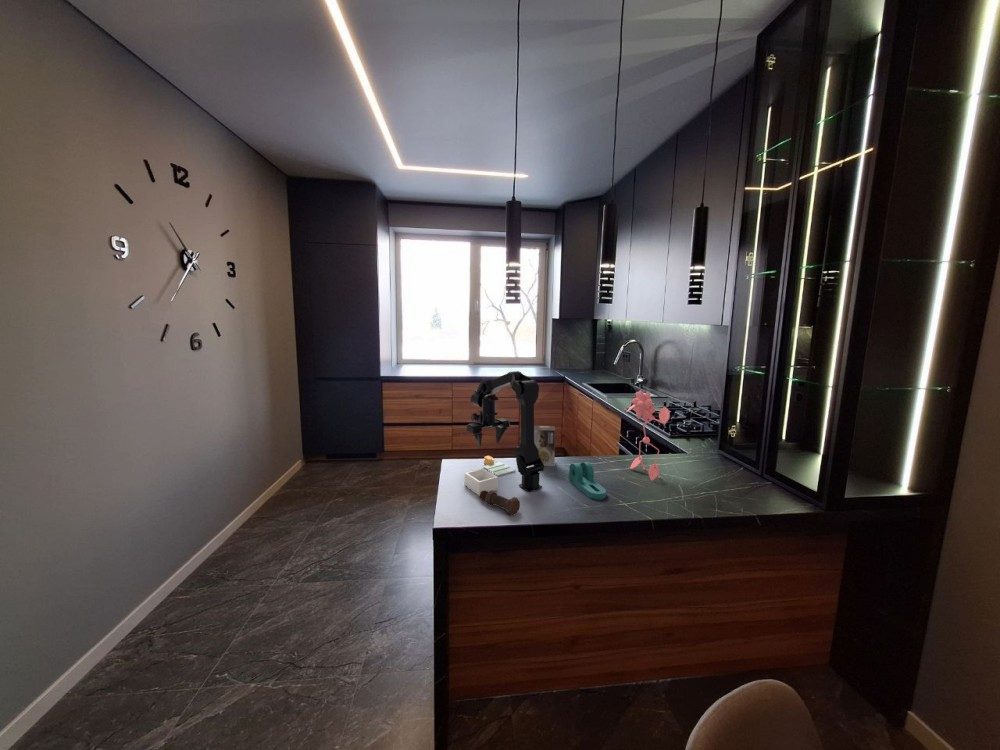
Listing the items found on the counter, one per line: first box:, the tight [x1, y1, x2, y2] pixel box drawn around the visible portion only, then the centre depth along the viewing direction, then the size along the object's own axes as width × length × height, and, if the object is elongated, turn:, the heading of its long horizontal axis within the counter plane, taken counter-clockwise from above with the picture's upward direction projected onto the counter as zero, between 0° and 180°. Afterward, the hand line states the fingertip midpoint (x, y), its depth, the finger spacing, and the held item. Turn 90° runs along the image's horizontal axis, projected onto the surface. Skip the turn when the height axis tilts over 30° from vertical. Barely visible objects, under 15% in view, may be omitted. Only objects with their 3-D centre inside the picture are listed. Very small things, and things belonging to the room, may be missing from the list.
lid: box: [482, 455, 516, 477], centre depth 163 cm, size 15×9×3 cm, turn 35°
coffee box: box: [532, 425, 556, 467], centre depth 168 cm, size 9×6×16 cm
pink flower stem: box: [621, 389, 671, 487], centre depth 155 cm, size 15×26×35 cm, turn 17°
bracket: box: [568, 461, 607, 500], centre depth 145 cm, size 18×7×8 cm, turn 17°
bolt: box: [479, 490, 521, 516], centre depth 131 cm, size 6×5×15 cm
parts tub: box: [464, 467, 499, 496], centre depth 144 cm, size 10×8×5 cm
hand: (488, 444), depth 167 cm, fingers open, 9 cm apart
